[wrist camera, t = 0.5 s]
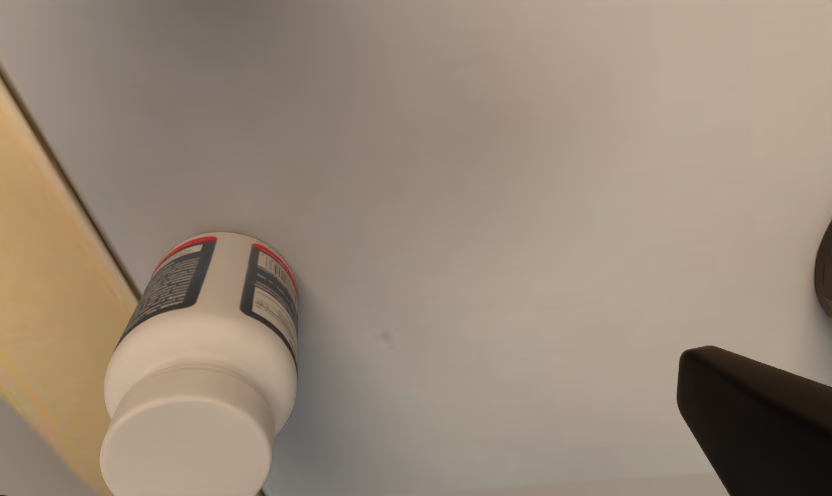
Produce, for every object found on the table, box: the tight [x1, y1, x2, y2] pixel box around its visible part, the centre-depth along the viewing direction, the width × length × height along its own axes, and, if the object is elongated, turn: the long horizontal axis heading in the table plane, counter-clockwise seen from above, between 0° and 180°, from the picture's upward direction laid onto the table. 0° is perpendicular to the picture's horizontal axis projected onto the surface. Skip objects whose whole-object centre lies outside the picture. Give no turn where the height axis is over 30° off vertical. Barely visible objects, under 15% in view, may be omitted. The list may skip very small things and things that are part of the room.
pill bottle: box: [100, 232, 298, 496], centre depth 18 cm, size 5×5×9 cm
